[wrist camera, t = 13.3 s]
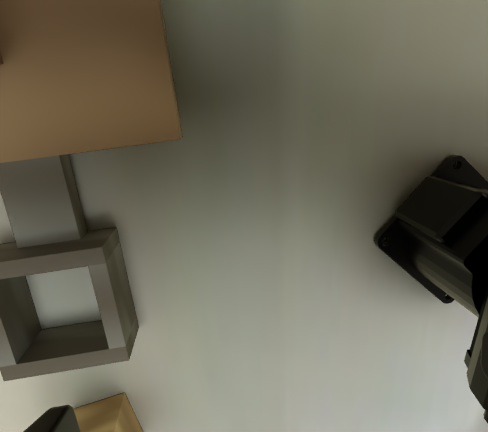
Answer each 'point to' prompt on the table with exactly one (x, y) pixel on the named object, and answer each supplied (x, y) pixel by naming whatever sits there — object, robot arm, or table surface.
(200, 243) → the table surface
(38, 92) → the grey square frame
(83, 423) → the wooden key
